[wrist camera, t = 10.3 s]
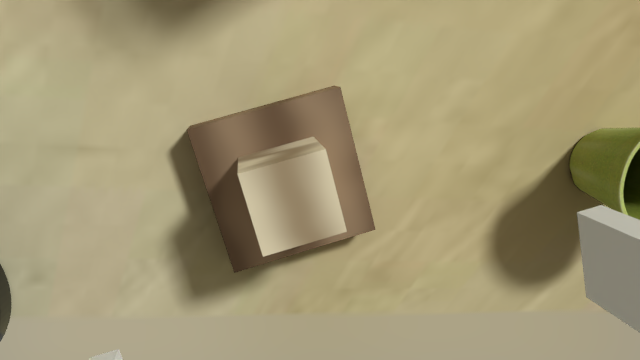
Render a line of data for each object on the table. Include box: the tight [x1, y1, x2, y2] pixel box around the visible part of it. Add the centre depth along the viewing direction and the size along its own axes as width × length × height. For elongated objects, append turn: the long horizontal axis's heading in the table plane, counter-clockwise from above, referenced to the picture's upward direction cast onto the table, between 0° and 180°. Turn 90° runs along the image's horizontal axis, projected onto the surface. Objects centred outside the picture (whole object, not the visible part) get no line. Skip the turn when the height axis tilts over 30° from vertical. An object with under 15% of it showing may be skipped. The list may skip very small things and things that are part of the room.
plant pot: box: [569, 128, 640, 220], centre depth 42 cm, size 9×9×9 cm
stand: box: [187, 86, 375, 273], centre depth 40 cm, size 12×12×2 cm
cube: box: [237, 137, 347, 257], centre depth 36 cm, size 6×6×6 cm
